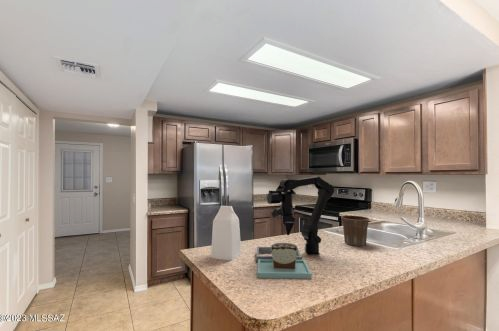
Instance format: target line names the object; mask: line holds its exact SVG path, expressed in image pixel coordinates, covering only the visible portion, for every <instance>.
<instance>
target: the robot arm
mask: <svg viewBox="0 0 499 331" xmlns="http://www.w3.org/2000/svg"><path fill="white" fill-rule="evenodd" d="M310 185H311V186H312V185H313V186H315V189H317V200H316V202H315V205H314V208H313V210H312V212H311V215H310V218H309V220H308V222H307V223H306V222H303V225H302V228H301V229H300V231H301V233H300V234H301V236H302V237H303V239H304V241H305V243H304V252H305V253H306V255H309V256H311V255H314V256H315V255H316V256H318V255H320V254H321V253H320V248H319V244H321V242H322V238H321V237H320V236H319V235H318V233H319V228H318V225H319V223H320V222H319V221H320V219H321V217H322V214H323V212H324V210H325V206H326V204H327V202H328V200H329V199H331V198H332V196H333V195H334V192H335V188H334V185H332V184H330V183H329V182H327V181H326V180H325V179H323V178H321V177H320V176H312V177H305V178H297V179H292V178H291V179H290V178H286V179H285V178H283V179H281V180H280V182H279V184H278V187H276V189H275V190H268V193H267V196H266V201H267V203H268V204H269V205H272V204H273V205H274V204H280V207H278V208H275V209H274V208H273V210H270V214H271V217H272V218H276V217H278V216H279V217H280V220H281V222H282V224H283V226H284V231H285V233H286V236H290V235H291V231H292V229H293V227H294V224H295V223H296V218H295V216H294V213H293V208H294V206H293V195H296V194H297V192H296V191H294V190H295V189H297V188H299V187H304V186H310Z"/></svg>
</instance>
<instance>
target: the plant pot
mask: <svg viewBox="0 0 499 331" xmlns="http://www.w3.org/2000/svg"><path fill="white" fill-rule="evenodd" d="M340 218H341V223H342V228H343V238H344V240H343V241H344V243H345V244H346V245H347V246H352V247H353V246H356V247H365V246H366V245H367V237H368V226H369V222H370V217H367V216H364V215H363V216H362V215H349V214H348V215H342V216H341V217H340Z"/></svg>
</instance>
